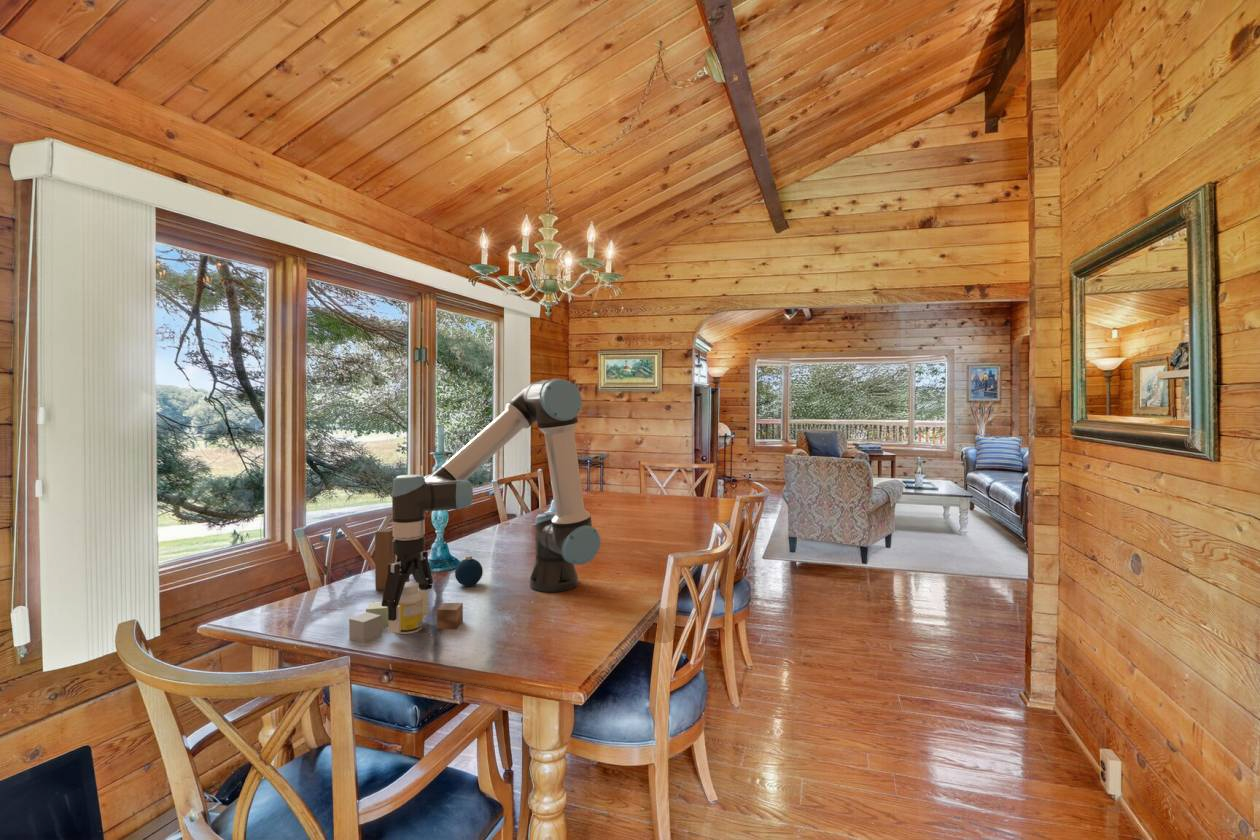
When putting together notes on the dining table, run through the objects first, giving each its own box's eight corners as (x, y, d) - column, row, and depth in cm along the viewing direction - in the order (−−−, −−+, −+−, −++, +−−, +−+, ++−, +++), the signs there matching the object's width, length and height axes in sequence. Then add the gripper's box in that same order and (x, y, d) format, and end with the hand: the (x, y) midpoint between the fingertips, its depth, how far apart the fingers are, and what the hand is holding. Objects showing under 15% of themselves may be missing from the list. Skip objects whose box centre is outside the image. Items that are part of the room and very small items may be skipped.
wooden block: (409, 585, 179) (409, 528, 178) (404, 590, 174) (404, 531, 174) (380, 585, 178) (380, 528, 178) (374, 590, 174) (374, 531, 173)
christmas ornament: (486, 586, 178) (486, 554, 178) (460, 591, 173) (459, 558, 173) (477, 579, 185) (477, 549, 184) (451, 584, 180) (451, 553, 180)
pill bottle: (400, 625, 146) (399, 580, 146) (425, 624, 147) (425, 580, 146) (391, 635, 140) (391, 588, 139) (418, 634, 140) (418, 588, 140)
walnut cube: (462, 621, 149) (462, 603, 149) (456, 629, 144) (456, 609, 144) (443, 621, 149) (443, 602, 149) (437, 629, 144) (437, 609, 144)
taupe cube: (381, 635, 140) (381, 615, 140) (363, 643, 135) (363, 622, 135) (367, 631, 142) (366, 612, 142) (349, 639, 138) (349, 618, 138)
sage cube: (390, 620, 150) (390, 601, 150) (387, 627, 145) (387, 607, 145) (370, 621, 149) (369, 602, 149) (366, 628, 144) (365, 609, 144)
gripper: (421, 526, 155) (421, 605, 155) (364, 547, 132) (365, 640, 132) (446, 527, 153) (446, 607, 154) (393, 549, 130) (394, 643, 131)
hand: (409, 623), depth 143 cm, fingers open, 11 cm apart
